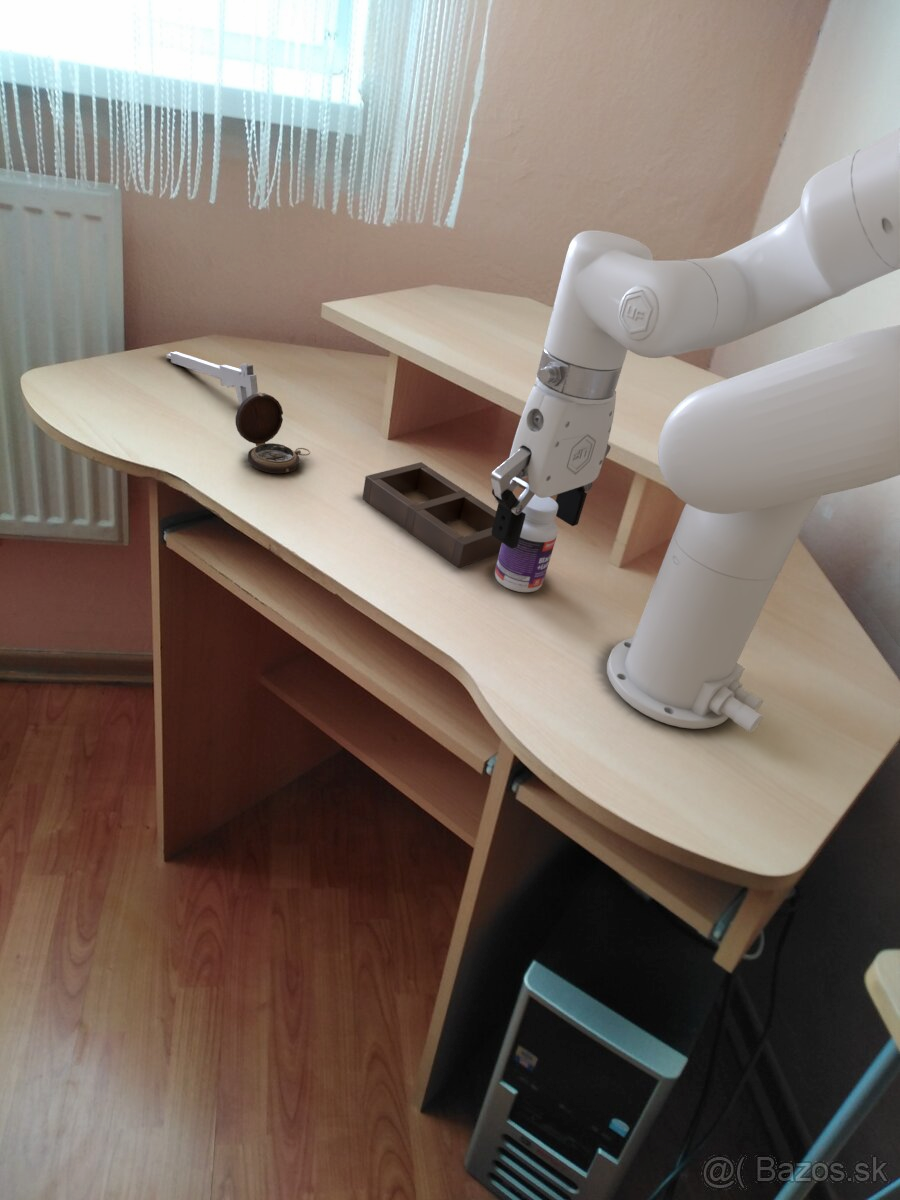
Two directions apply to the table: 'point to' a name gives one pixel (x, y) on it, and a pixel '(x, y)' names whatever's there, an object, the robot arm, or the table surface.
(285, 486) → the table surface
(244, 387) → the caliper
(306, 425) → the table surface
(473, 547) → the tray
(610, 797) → the table surface
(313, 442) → the table surface
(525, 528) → the pill bottle
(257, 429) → the compass
